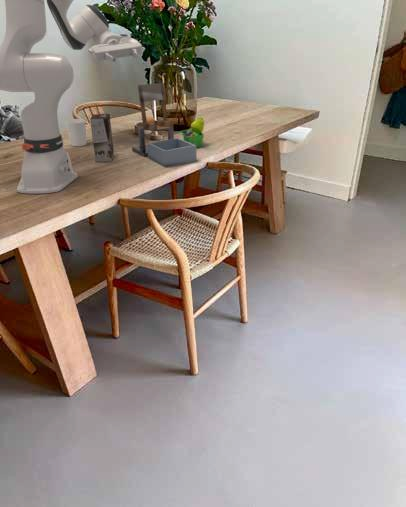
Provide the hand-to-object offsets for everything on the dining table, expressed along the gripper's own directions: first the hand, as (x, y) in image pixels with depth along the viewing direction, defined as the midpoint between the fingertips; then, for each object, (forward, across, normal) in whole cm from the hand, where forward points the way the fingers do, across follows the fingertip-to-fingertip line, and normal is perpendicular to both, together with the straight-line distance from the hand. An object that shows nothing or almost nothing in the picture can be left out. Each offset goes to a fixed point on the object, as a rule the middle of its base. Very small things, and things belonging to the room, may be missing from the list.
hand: (125, 58), depth 166 cm
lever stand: (+22, +1, +29) cm, 37 cm away
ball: (+17, +2, +19) cm, 25 cm away
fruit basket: (+23, +20, +31) cm, 43 cm away
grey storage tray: (+36, +2, +25) cm, 44 cm away
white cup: (-4, -22, +35) cm, 42 cm away
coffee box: (+21, -20, +28) cm, 40 cm away
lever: (+22, +2, +19) cm, 29 cm away
